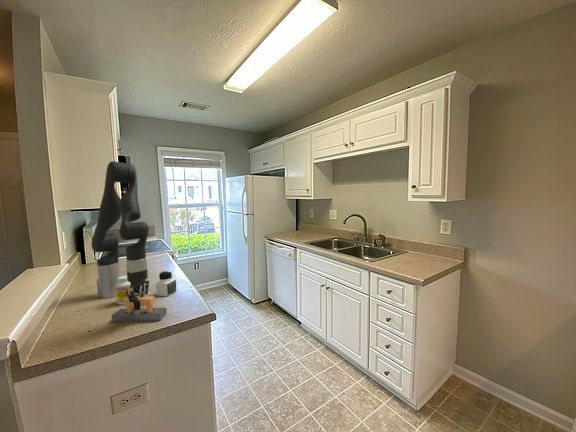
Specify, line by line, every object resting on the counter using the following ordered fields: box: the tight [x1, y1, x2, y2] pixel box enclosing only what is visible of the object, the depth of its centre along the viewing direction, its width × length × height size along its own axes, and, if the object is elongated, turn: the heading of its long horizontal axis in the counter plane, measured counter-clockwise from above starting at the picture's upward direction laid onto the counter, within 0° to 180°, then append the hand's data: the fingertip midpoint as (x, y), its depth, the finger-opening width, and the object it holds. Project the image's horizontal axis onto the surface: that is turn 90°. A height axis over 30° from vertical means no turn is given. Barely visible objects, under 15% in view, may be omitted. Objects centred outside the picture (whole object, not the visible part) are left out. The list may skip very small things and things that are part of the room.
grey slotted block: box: [111, 307, 168, 323], centre depth 107 cm, size 20×6×3 cm, turn 91°
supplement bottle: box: [115, 275, 131, 305], centre depth 123 cm, size 7×7×13 cm
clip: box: [123, 295, 155, 314], centre depth 107 cm, size 11×3×6 cm, turn 91°
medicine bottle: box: [155, 270, 177, 297], centre depth 134 cm, size 7×7×12 cm
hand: (139, 307), depth 107 cm, fingers closed on clip, 3 cm apart
